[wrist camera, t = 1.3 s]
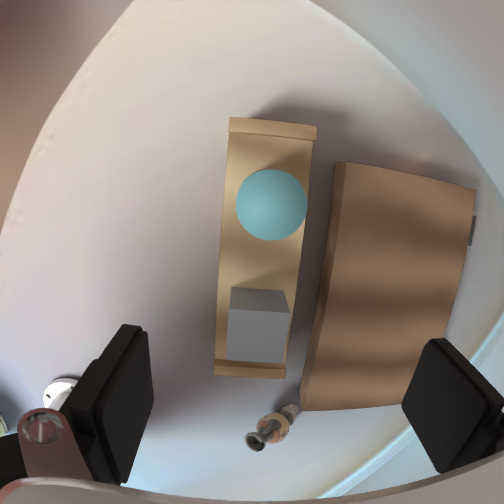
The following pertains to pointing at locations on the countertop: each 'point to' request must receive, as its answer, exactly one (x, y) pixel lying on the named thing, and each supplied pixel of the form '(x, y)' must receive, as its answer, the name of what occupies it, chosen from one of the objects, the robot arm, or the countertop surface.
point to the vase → (272, 428)
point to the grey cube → (257, 325)
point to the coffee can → (2, 427)
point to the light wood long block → (248, 246)
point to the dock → (383, 284)
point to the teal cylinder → (271, 204)
